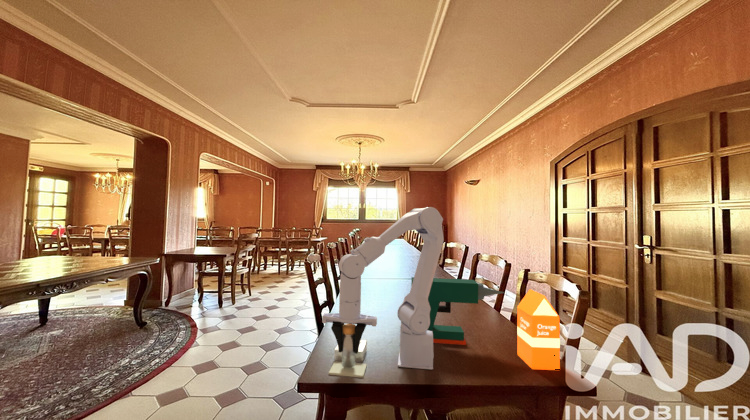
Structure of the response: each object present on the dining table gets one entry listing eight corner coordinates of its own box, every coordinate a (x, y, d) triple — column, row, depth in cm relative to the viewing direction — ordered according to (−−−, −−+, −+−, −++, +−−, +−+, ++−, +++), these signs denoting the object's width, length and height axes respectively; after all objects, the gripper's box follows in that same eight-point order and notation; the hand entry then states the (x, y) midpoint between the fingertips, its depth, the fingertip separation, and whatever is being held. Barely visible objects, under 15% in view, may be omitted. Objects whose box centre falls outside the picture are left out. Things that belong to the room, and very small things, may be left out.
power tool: (501, 338, 99) (501, 280, 100) (508, 347, 92) (509, 285, 93) (409, 333, 102) (410, 276, 103) (409, 341, 95) (410, 280, 96)
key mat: (366, 365, 78) (366, 363, 78) (363, 377, 72) (363, 375, 72) (334, 363, 79) (334, 361, 79) (328, 374, 73) (328, 372, 73)
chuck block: (366, 350, 88) (366, 340, 88) (362, 362, 80) (362, 351, 80) (341, 348, 89) (341, 338, 89) (334, 360, 81) (334, 349, 81)
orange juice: (542, 355, 87) (542, 289, 88) (560, 370, 78) (560, 296, 79) (516, 354, 87) (516, 288, 88) (531, 369, 78) (531, 295, 79)
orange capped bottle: (356, 361, 77) (357, 324, 78) (353, 368, 74) (354, 329, 74) (343, 360, 78) (344, 323, 78) (340, 367, 74) (341, 328, 75)
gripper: (378, 297, 80) (377, 346, 79) (328, 294, 81) (326, 342, 81) (375, 304, 73) (374, 358, 72) (320, 301, 74) (318, 354, 74)
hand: (348, 351), depth 76 cm, fingers closed on orange capped bottle, 4 cm apart
